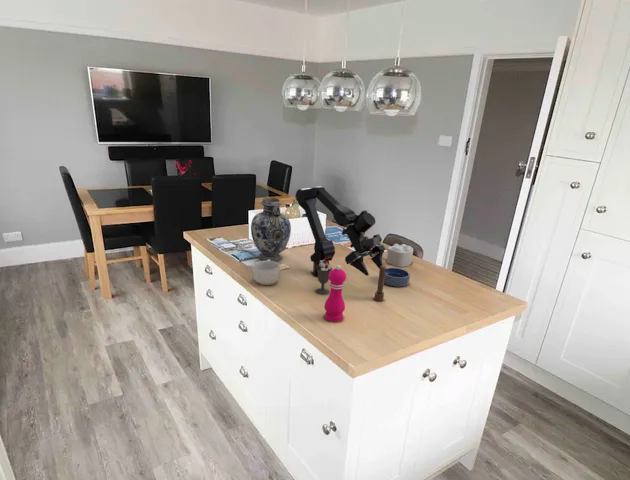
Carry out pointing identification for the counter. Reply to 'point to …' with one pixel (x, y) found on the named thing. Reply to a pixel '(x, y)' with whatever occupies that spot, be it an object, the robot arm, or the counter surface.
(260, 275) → the teacup
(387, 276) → the bowl
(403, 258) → the lumpy-topped squat cylinder
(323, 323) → the counter surface
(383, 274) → the stirring stick
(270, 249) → the decorative vase
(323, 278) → the sundae
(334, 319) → the pepper mill
